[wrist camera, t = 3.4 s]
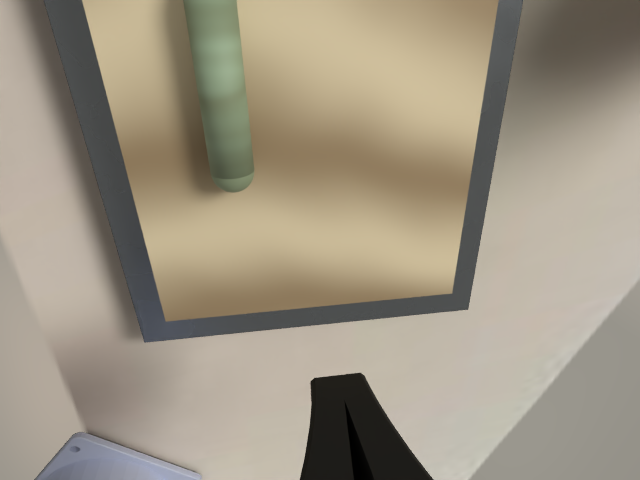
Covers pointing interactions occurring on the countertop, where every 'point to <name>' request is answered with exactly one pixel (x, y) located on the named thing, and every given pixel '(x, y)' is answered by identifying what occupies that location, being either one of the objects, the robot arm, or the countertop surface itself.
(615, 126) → the countertop surface
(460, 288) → the base
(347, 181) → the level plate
